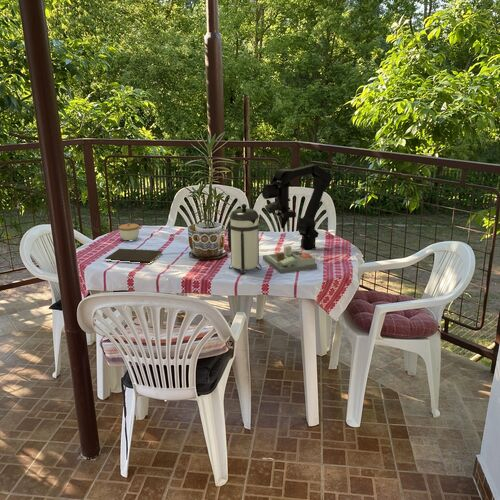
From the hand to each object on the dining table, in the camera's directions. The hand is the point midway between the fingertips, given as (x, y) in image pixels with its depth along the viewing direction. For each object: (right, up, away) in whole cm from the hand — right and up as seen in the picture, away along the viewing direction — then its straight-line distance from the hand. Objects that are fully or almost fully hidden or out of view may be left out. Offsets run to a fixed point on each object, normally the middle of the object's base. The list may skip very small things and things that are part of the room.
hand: (282, 228), depth 250 cm
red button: (+9, -16, -16) cm, 25 cm away
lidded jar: (-81, -5, +31) cm, 87 cm away
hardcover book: (-72, -15, +1) cm, 73 cm away
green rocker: (+1, -16, -20) cm, 25 cm away
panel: (+2, -17, -11) cm, 20 cm away
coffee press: (-19, -19, -16) cm, 31 cm away
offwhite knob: (+2, -13, -5) cm, 14 cm away
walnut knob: (-2, -16, -14) cm, 21 cm away
